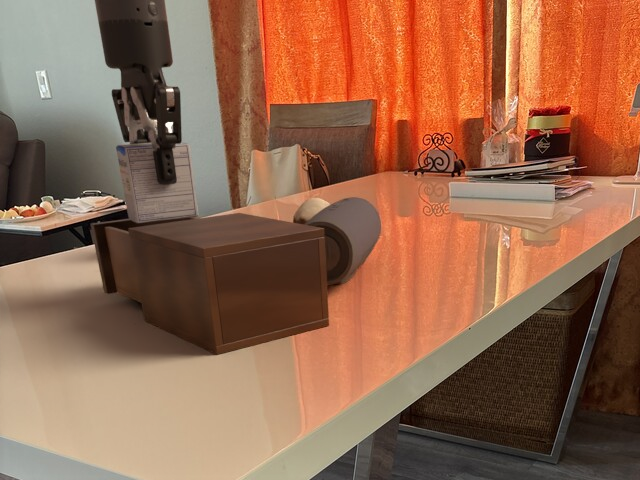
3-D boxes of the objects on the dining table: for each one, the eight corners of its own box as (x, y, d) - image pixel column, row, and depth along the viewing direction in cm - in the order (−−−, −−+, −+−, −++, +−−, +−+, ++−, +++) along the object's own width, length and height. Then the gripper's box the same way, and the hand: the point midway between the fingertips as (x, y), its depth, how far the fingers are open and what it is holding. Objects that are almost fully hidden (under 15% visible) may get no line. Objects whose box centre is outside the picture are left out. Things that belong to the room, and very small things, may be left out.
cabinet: (144, 321, 87) (127, 228, 82) (248, 298, 95) (239, 212, 90) (216, 354, 75) (202, 248, 69) (329, 325, 83) (324, 228, 77)
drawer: (91, 287, 99) (77, 220, 95) (180, 271, 107) (170, 208, 102) (158, 316, 85) (144, 239, 80) (255, 295, 92) (248, 223, 88)
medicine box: (188, 213, 94) (177, 140, 89) (199, 217, 90) (189, 142, 86) (127, 220, 90) (114, 144, 86) (137, 224, 87) (124, 146, 83)
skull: (307, 229, 135) (336, 187, 128) (341, 270, 134) (372, 230, 127) (266, 237, 126) (295, 192, 119) (303, 281, 125) (333, 239, 118)
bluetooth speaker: (328, 259, 115) (324, 193, 110) (385, 260, 114) (384, 192, 109) (290, 294, 96) (284, 216, 91) (358, 296, 94) (355, 216, 89)
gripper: (76, 23, 83) (106, 181, 91) (127, 11, 73) (155, 190, 81) (137, 25, 87) (160, 176, 95) (193, 14, 77) (213, 183, 85)
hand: (157, 181), depth 88 cm, fingers closed on medicine box, 4 cm apart
